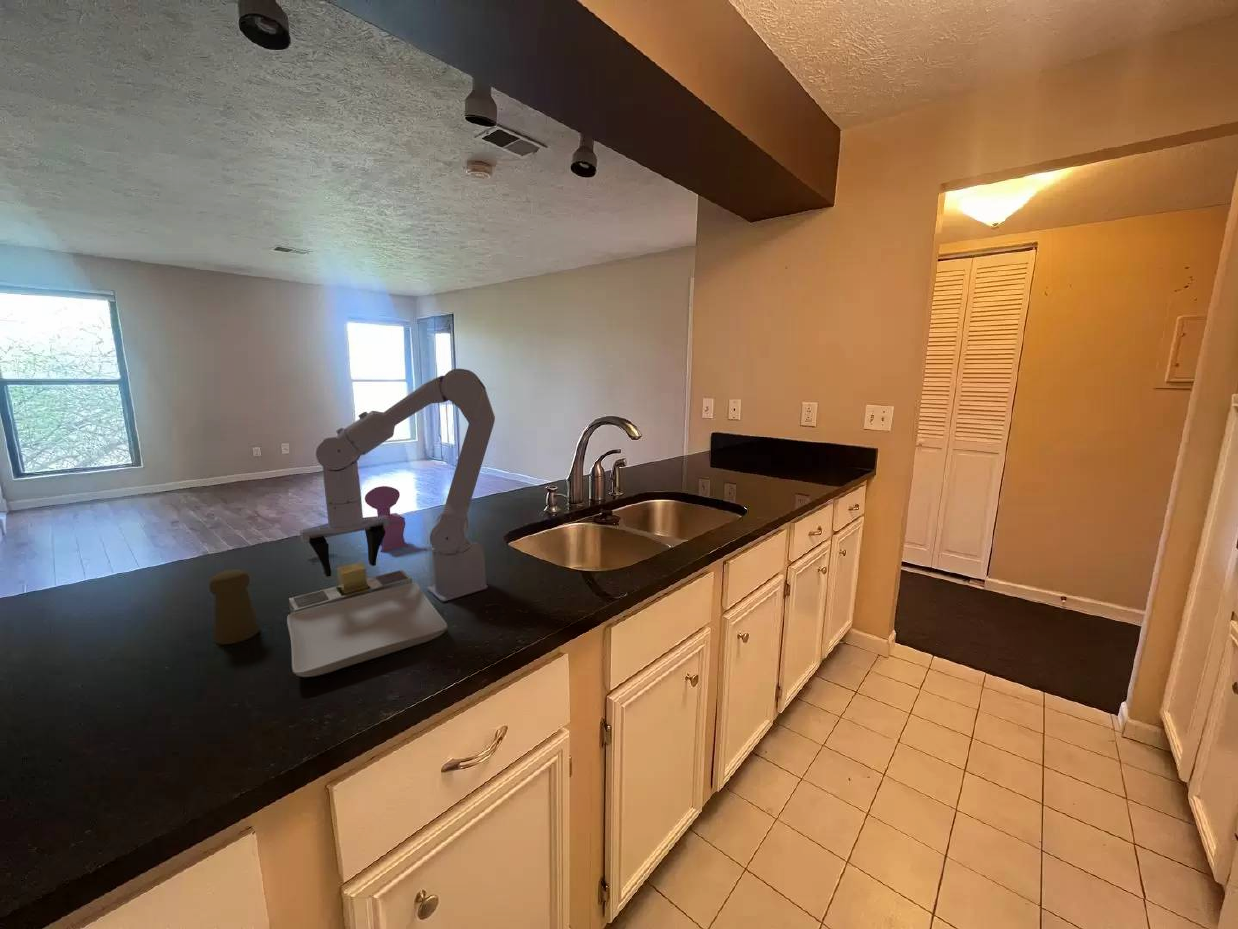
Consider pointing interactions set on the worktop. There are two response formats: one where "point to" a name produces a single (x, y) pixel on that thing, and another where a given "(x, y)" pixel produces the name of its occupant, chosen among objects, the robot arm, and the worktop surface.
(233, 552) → the worktop surface
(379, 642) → the salad plate
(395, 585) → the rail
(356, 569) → the yellow rectangular block
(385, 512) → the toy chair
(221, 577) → the cork
